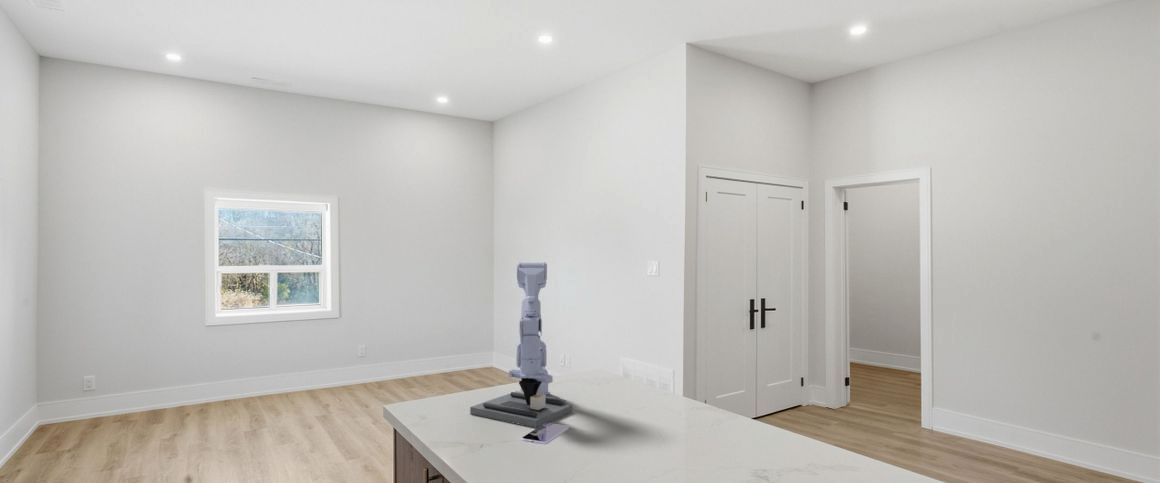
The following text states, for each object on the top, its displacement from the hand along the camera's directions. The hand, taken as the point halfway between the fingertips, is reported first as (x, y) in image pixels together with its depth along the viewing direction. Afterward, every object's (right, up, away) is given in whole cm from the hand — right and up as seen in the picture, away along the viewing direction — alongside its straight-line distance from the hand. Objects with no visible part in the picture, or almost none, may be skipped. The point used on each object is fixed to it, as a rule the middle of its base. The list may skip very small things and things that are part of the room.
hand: (530, 404), depth 170 cm
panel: (-3, -3, +2) cm, 4 cm away
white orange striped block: (+2, -1, -1) cm, 3 cm away
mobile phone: (+6, -4, -17) cm, 18 cm away
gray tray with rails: (-2, -1, +2) cm, 3 cm away
